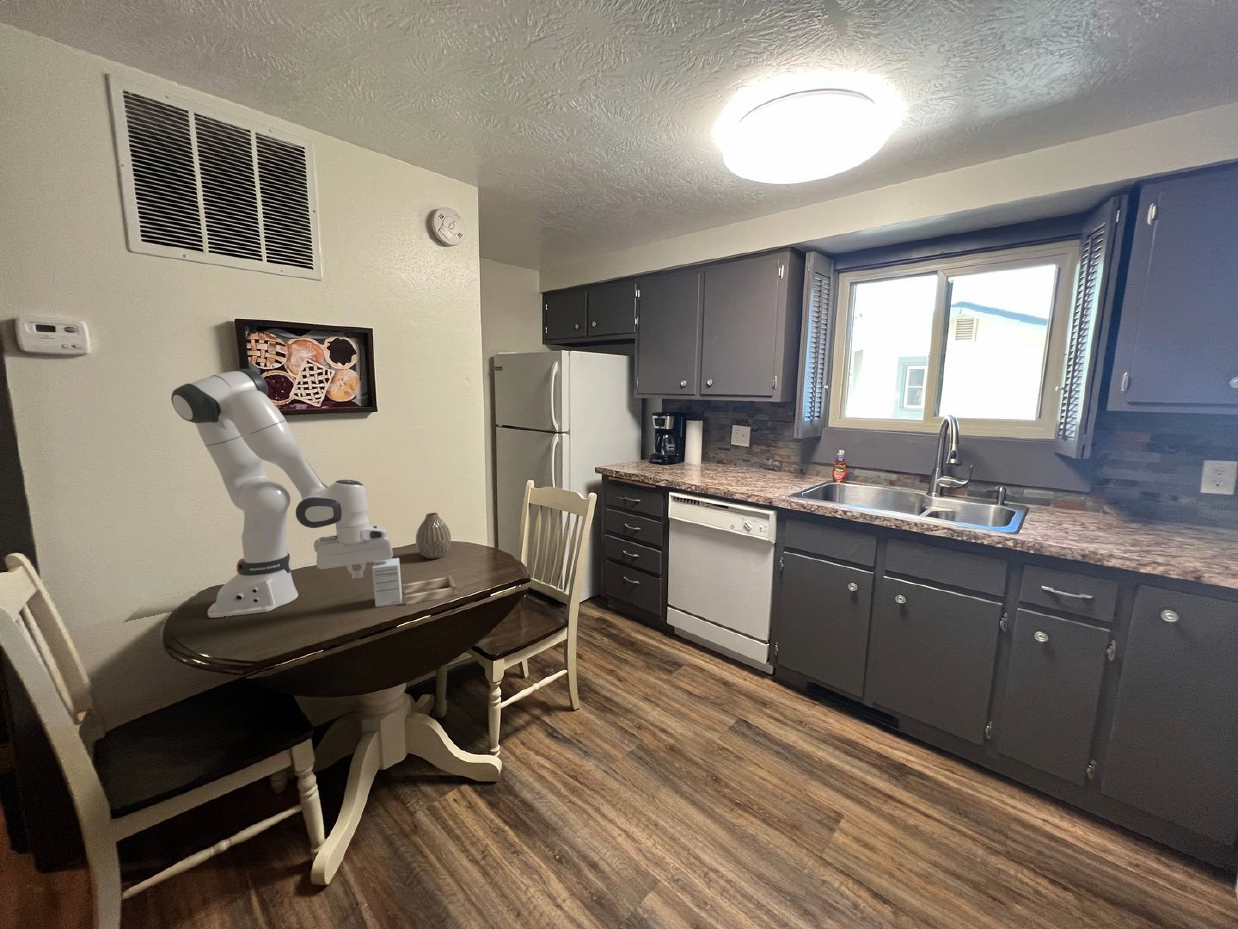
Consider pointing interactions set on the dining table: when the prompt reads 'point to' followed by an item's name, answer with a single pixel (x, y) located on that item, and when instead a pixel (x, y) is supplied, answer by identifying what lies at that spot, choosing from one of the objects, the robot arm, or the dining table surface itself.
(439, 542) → the vase
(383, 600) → the supplement box
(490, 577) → the dining table surface
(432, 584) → the u rest
